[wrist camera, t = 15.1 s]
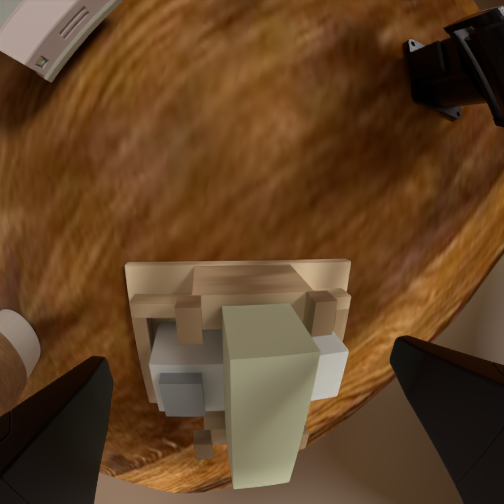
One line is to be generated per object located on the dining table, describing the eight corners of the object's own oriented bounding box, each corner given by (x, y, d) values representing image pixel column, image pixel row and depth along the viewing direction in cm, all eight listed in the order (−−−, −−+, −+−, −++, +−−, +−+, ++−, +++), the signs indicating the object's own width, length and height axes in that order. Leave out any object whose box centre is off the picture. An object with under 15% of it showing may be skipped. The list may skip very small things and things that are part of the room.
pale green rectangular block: (289, 303, 15) (320, 351, 10) (274, 434, 18) (289, 481, 13) (221, 306, 14) (230, 359, 10) (226, 439, 17) (233, 489, 13)
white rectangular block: (320, 315, 21) (355, 359, 15) (314, 357, 22) (342, 405, 16) (159, 322, 19) (146, 375, 13) (165, 366, 20) (158, 421, 15)
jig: (346, 258, 21) (399, 293, 14) (323, 385, 24) (352, 437, 18) (127, 261, 18) (93, 305, 12) (150, 396, 22) (141, 457, 15)
